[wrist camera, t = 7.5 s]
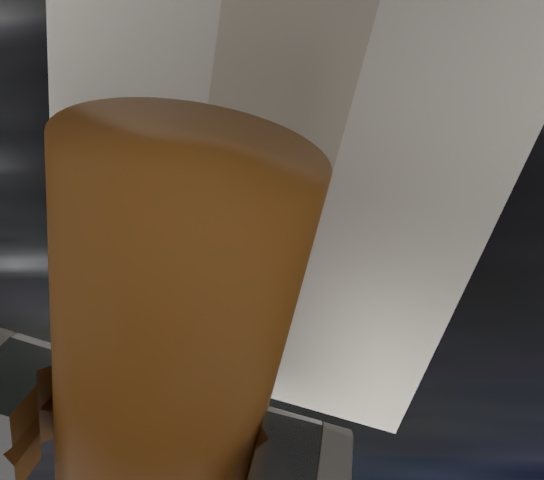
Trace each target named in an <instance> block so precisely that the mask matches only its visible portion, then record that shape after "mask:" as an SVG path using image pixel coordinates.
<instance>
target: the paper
mask: <svg viewBox="0 0 544 480" xmlns="http://www.w3.org/2000/svg"><path fill="white" fill-rule="evenodd" d="M46 23H47V56H48V88H49V119H50V118H51V117H52V116H53V115H55V114H56V113H57V112H59V111H61V110H63V109H65V108H67V107H70V106H73V105H75V104H79V103H83V102H87V101H92V100H98V99H106V98H118V97H157V98H170V99H179V100H188V101H194V102H201V103H207V104H212V105H217V106H221V107H226V108H230V109H234V110H238V111H242V112H245V113H249V114H252V115H255V116H258V117H261V118H264V119H267V120H269V121H272V122H274V123H277V124H279V125H282V126H284V127H286V128H288V129H290V130H292V131H294V132H296V133H298V134H300V135H301V136H303V137H305V138H306V139H308V140H309V141H311V142H312V143H314V144H315V145H316V146H317V147H318V148H319V149H321V150H322V152H323V153H324V154H325V155H326V156H327V158H328V159H329V161H330V163H331V166H332V177H331V181H330V184H329V188H328V192H327V195H326V199H325V203H324V206H323V210H322V213H321V217H320V221H319V224H318V228H317V232H316V235H315V239H314V243H313V246H312V250H311V253H310V257H309V261H308V264H307V268H306V272H305V275H304V279H303V283H302V286H301V290H300V294H299V297H298V301H297V304H296V308H295V312H294V315H293V319H292V323H291V326H290V330H289V334H288V337H287V341H286V344H285V348H284V352H283V355H282V359H281V363H280V366H279V370H278V374H277V377H276V381H275V385H274V388H273V392H272V395H271V398H272V399H276V400H279V401H283V402H286V403H290V404H293V405H297V406H300V407H304V408H307V409H311V410H314V411H318V412H321V413H324V414H328V415H331V416H335V417H338V418H342V419H345V420H349V421H352V422H356V423H359V424H363V425H366V426H370V427H373V428H377V429H380V430H384V431H387V432H391V433H394V434H396V432H397V429H398V427H399V425H400V423H401V421H402V419H403V417H404V415H405V413H406V411H407V409H408V406H409V404H410V402H411V400H412V398H413V396H414V394H415V392H416V390H417V388H418V386H419V384H420V381H421V379H422V377H423V375H424V373H425V371H426V369H427V367H428V365H429V363H430V361H431V358H432V356H433V354H434V352H435V350H436V348H437V346H438V344H439V342H440V340H441V338H442V336H443V333H444V331H445V329H446V327H447V325H448V323H449V321H450V319H451V317H452V315H453V313H454V310H455V308H456V306H457V304H458V302H459V300H460V298H461V296H462V294H463V292H464V290H465V288H466V285H467V283H468V281H469V279H470V277H471V275H472V273H473V271H474V269H475V267H476V265H477V262H478V260H479V258H480V256H481V254H482V252H483V250H484V248H485V246H486V244H487V242H488V240H489V237H490V235H491V233H492V231H493V229H494V227H495V225H496V223H497V221H498V219H499V217H500V214H501V212H502V210H503V208H504V206H505V204H506V202H507V200H508V198H509V196H510V194H511V192H512V189H513V187H514V185H515V183H516V181H517V179H518V177H519V175H520V173H521V171H522V169H523V166H524V164H525V162H526V160H527V158H528V156H529V154H530V152H531V150H532V148H533V146H534V144H535V141H536V139H537V137H538V135H539V133H540V131H541V129H542V127H543V125H544V0H46Z"/></svg>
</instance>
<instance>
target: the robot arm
mask: <svg viewBox="0 0 544 480" xmlns="http://www.w3.org/2000/svg"><path fill="white" fill-rule="evenodd" d="M52 438H54V423H53V392H52V361H51V343H48V342H45V341H42V340H39V339H36V338H33V337H29V336H26V335H23V334H20V333H16V332H12V331H9V330H6V329H3V328H0V480H26V478H27V477H28V475H29V474H30V473H31V471H32V470H33V468H34V467H35V466H36V464H37V463H38V461H39V460H40V459H41V449H40V444H42V443H44V442H46V441H48V440H50V439H52ZM352 454H353V433H352V430H350V429H347V428H343V427H340V426H336V425H333V424H329V423H326V422H322V421H320V420H316V419H312V418H309V417H305V416H302V415H298V414H294V413H291V412H287V411H284V410H280V409H276V408H273V407H269V406H268V409H267V411H266V413H265V415H264V418H263V421H262V425H261V428H260V432H259V435H258V439H257V442H256V446H255V450H254V456H253V459H252V461H251V464H250V468H249V472H248V476H247V480H351V475H352Z"/></svg>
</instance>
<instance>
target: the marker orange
mask: <svg viewBox="0 0 544 480" xmlns="http://www.w3.org/2000/svg"><path fill="white" fill-rule="evenodd" d="M44 142H45V174H46V205H47V236H48V267H49V298H50V330H51V361H52V392H53V423H54V454H55V480H247V476H248V472H249V468H250V464H251V461H252V459H253V456H254V450H255V446H256V442H257V439H258V435H259V432H260V428H261V425H262V421H263V418H264V415H265V413H266V411H267V409H268V406H269V403H270V399H271V395H272V392H273V388H274V385H275V381H276V377H277V374H278V370H279V366H280V363H281V359H282V355H283V352H284V348H285V344H286V341H287V337H288V334H289V330H290V326H291V323H292V319H293V315H294V312H295V308H296V304H297V301H298V297H299V294H300V290H301V286H302V283H303V279H304V275H305V272H306V268H307V264H308V261H309V257H310V253H311V250H312V246H313V243H314V239H315V235H316V232H317V228H318V224H319V221H320V217H321V213H322V210H323V206H324V203H325V199H326V195H327V192H328V188H329V184H330V181H331V177H332V166H331V163H330V161H329V159H328V158H327V156H326V155H325V154H324V153H323V152H322V150H321V149H319V148H318V147H317V146H316V145H315V144H314V143H312V142H311V141H309V140H308V139H306V138H305V137H303V136H301V135H300V134H298V133H296V132H294V131H292V130H290V129H288V128H286V127H284V126H282V125H279V124H277V123H274V122H272V121H269V120H267V119H264V118H261V117H258V116H255V115H252V114H249V113H245V112H242V111H238V110H234V109H230V108H226V107H221V106H217V105H212V104H207V103H201V102H194V101H188V100H179V99H170V98H157V97H118V98H106V99H98V100H92V101H87V102H83V103H79V104H75V105H73V106H70V107H67V108H65V109H63V110H61V111H59V112H57V113H56V114H55V115H53V116H52V117H51V118H50V119H49V120H48V122H47V123H46V126H45V129H44Z"/></svg>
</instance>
